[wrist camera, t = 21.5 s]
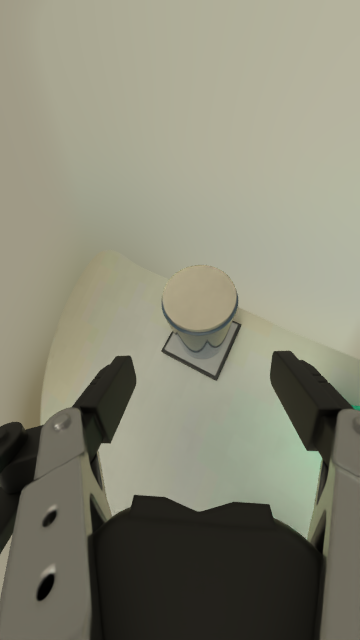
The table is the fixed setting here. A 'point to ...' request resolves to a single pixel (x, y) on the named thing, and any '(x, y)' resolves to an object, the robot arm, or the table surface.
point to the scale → (204, 366)
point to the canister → (200, 309)
